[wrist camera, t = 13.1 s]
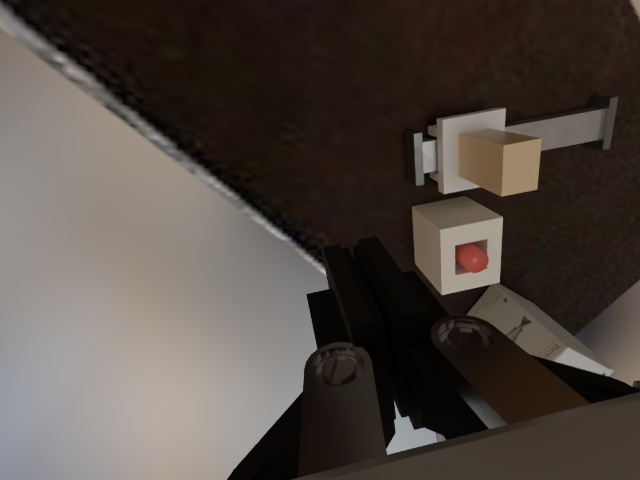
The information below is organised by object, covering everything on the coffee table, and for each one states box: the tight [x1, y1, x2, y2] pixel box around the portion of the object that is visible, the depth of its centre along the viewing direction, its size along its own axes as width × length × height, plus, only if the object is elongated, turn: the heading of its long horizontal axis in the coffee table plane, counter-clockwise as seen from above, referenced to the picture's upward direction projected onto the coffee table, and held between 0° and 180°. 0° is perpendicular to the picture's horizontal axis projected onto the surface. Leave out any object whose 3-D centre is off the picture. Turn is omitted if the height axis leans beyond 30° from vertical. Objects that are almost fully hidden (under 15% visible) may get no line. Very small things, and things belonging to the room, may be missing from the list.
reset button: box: [455, 242, 489, 273], centre depth 36 cm, size 2×2×5 cm
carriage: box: [428, 108, 542, 197], centre depth 33 cm, size 7×6×10 cm
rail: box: [405, 96, 618, 186], centre depth 37 cm, size 5×21×2 cm, turn 99°
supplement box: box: [466, 283, 614, 376], centre depth 41 cm, size 7×7×13 cm
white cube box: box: [412, 196, 503, 295], centre depth 38 cm, size 7×7×7 cm
